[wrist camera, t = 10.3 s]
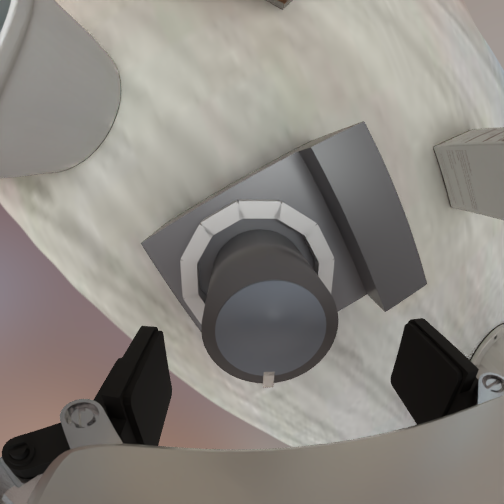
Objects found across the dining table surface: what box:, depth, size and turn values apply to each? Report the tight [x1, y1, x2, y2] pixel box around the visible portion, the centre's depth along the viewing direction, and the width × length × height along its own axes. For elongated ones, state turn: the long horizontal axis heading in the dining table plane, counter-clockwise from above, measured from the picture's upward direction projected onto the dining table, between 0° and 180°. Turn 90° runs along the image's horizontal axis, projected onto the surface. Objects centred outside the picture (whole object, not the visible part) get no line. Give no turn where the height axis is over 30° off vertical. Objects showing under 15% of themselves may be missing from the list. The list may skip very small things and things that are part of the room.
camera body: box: [141, 121, 427, 331], centre depth 22 cm, size 11×15×11 cm
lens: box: [201, 229, 338, 388], centre depth 16 cm, size 6×6×7 cm
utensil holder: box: [0, 0, 121, 178], centre depth 14 cm, size 15×15×18 cm
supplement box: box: [434, 127, 504, 220], centre depth 20 cm, size 7×7×13 cm
